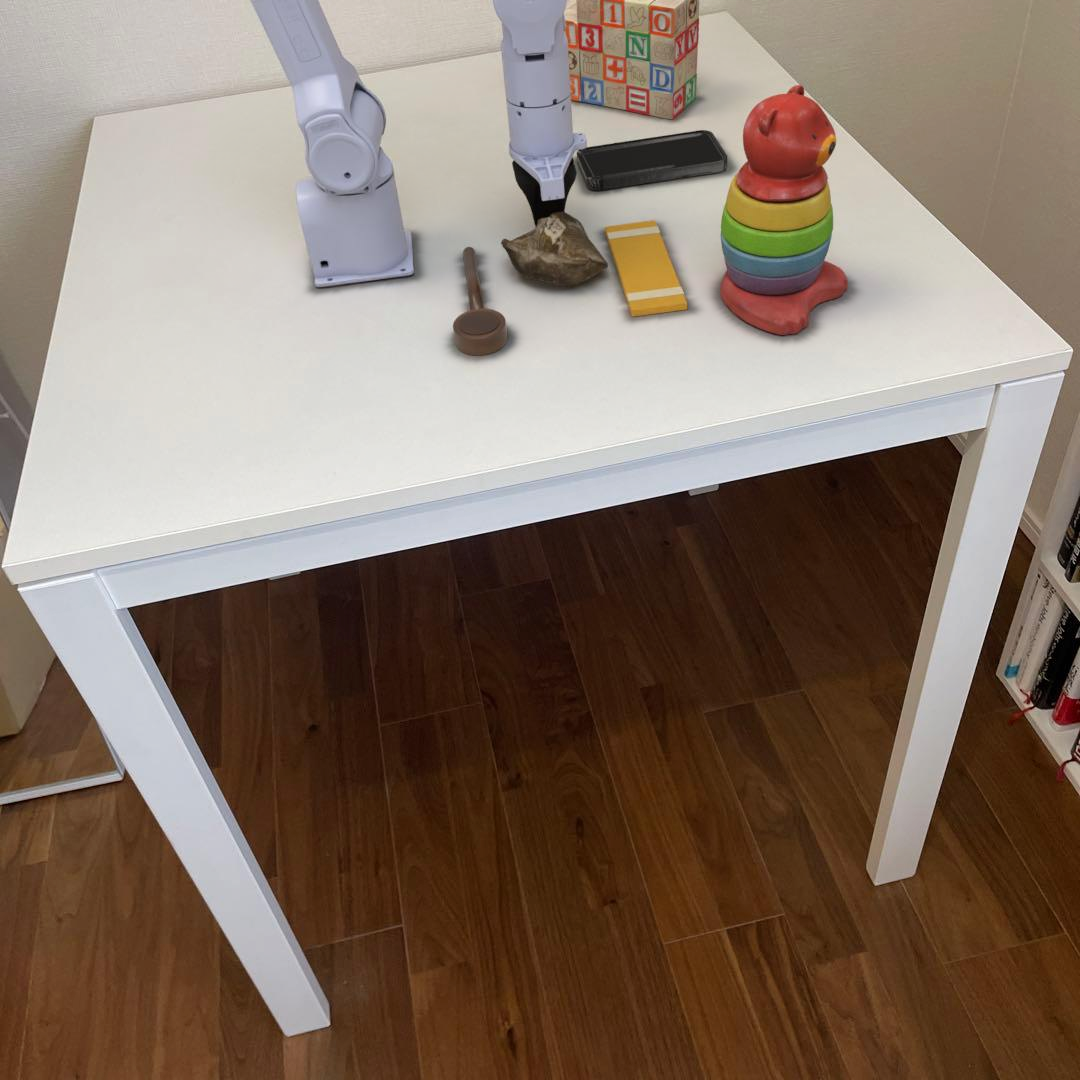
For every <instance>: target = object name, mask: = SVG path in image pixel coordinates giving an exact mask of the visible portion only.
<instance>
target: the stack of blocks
mask: <svg viewBox="0 0 1080 1080" xmlns="http://www.w3.org/2000/svg"><path fill="white" fill-rule="evenodd" d="M564 15H565V24H566V28H565V31H564V33H565V35H566V36H567V40H568V55H569V72H570V90H571V101H574V102H575V101H576V102H583V103H587V104H592V105H597V106H604V107H609V108H613V109H618V110H623V111H627V112H632V113H637V114H640V115H641V114H642V115H646V116H652V117H655V118H660V119H666V120H672V121H673V120H674V119H675V118H676V117H678V116H679V115H680V114H681V113H682V112H683V111H684V110H685V109H686V108H687V107H688V106H690V104H691V103H693V102H694V101H695V100H696V98H697V86H698V84H697V83H698V81H697V80H698V73H697V71H698V53H699V52H698V51H699V38H700V36H699V35H700V34H699V31H700V18H699V17H700V0H567V4H566V8H565V11H564Z"/></svg>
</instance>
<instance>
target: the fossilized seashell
mask: <svg viewBox="0 0 1080 1080" xmlns="http://www.w3.org/2000/svg"><path fill="white" fill-rule="evenodd" d="M500 245H501V246H502V248H503V249H504V250H505V252H506V253H507V256H508V258H509V260H510V262H511V264H512V266H513V268H514V269H515V270H516V272H517V273H518V274H519V275H521V276H522V277H523V278H526V279H529V280H533V281H534V280H535V281H543V282H545V283H546V284H549V285H554V286H559V287H560V286H561V287H562V286H563V287H564V286H571V285H572V286H573V285H576V284H580V283H582V282H585V281H588V280H590V279H591V278H592V277H594V276H595V275H597V274H599V273H600V272H602V271H605V270H607V269H608V267H609V263H608V262H607V260H606V259H605V258H604V256H603V254H601V252H600V250H599V249H598V248H597V246H595V244H594V243H593V242H592V240H591V239H590V238H589V236H588V234H587V232H586V230H585V227H584V225H583V224H582V222H581V221H580V220H578V219H577V218H575V217H574V216H572V215H571V214H569V213H567V212H566V211H564V212H556V213H553V214H551V215H550V216H549V217H547V218H541V219H539V220H538V223H537V227H535V228H534V229H532V230H531V231H529V232H526V233H523V234H522V235H519V236H518V237H515V238H513V239H511V240H509V239H508V238H502V239H501V242H500Z"/></svg>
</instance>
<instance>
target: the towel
mask: <svg viewBox="0 0 1080 1080" xmlns="http://www.w3.org/2000/svg"><path fill="white" fill-rule="evenodd" d="M604 234H605V237H606V240H607V244H608V247H609V250H610V252H611V253H610V254H611V256H612V259H613V262H614V266H615V268H616V272H617V274H618V278H619V281H620V284H621V287H622V290H623V293H624V297H625V300H626V302H627V306H628V309H629V312H630V315H631V318H632V317H640V316H648V315H654V314H655V315H657V314H663V313H671V312H678V311H685V310H688V302H687V299H686V295H685V292H684V290H683V289H684V288H683V287H682V286H681V283H680V281H679V278H678V276H677V272H676V270H675V268H674V265H673V262H672V260H671V257H670V255H669V253H668V250H667V248H666V245H665V242H664V240H663V238H662V237H663V236H662V235H661V231H660V228H659V226H658V224H657V222H656V220H655V219H653V220H647V221H646V220H645V221H638V222H630V223H623V224H622V223H621V224H615V225H607V226H604Z"/></svg>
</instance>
